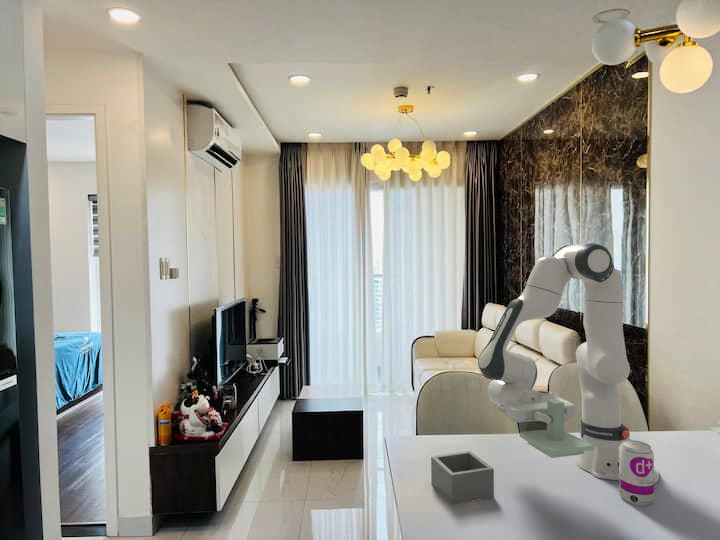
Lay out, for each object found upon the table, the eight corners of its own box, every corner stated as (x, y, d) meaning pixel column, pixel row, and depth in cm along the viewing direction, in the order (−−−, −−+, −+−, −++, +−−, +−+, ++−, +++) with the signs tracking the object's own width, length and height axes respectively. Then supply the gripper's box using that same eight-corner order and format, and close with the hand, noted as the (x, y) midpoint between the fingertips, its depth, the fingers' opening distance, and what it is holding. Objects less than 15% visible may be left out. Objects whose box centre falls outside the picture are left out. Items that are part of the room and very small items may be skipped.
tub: (470, 477, 143) (470, 451, 143) (493, 497, 131) (493, 468, 131) (431, 483, 140) (431, 456, 140) (451, 504, 127) (451, 475, 127)
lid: (558, 437, 134) (559, 393, 134) (593, 455, 122) (594, 407, 122) (519, 441, 131) (520, 396, 130) (550, 461, 118) (551, 410, 118)
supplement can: (659, 508, 124) (658, 451, 124) (625, 505, 126) (624, 449, 125) (647, 493, 132) (646, 440, 132) (615, 490, 133) (614, 438, 133)
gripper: (495, 396, 136) (524, 410, 122) (554, 391, 141) (589, 405, 128) (494, 417, 136) (523, 434, 122) (554, 412, 141) (588, 428, 128)
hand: (557, 419), depth 125 cm, fingers closed on lid, 3 cm apart
